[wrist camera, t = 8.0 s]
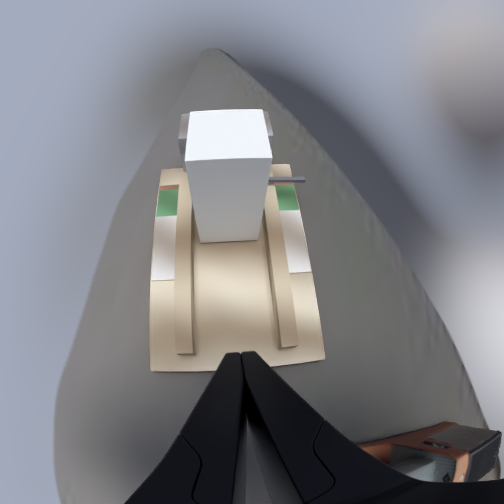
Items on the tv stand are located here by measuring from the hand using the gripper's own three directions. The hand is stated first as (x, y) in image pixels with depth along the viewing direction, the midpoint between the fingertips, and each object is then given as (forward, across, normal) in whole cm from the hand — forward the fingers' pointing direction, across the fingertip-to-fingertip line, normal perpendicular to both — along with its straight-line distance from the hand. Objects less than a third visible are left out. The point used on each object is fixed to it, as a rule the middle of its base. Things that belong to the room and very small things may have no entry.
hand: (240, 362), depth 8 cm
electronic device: (+1, -11, +14) cm, 18 cm away
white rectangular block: (+14, -2, -2) cm, 14 cm away
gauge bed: (+13, 0, +1) cm, 13 cm away
